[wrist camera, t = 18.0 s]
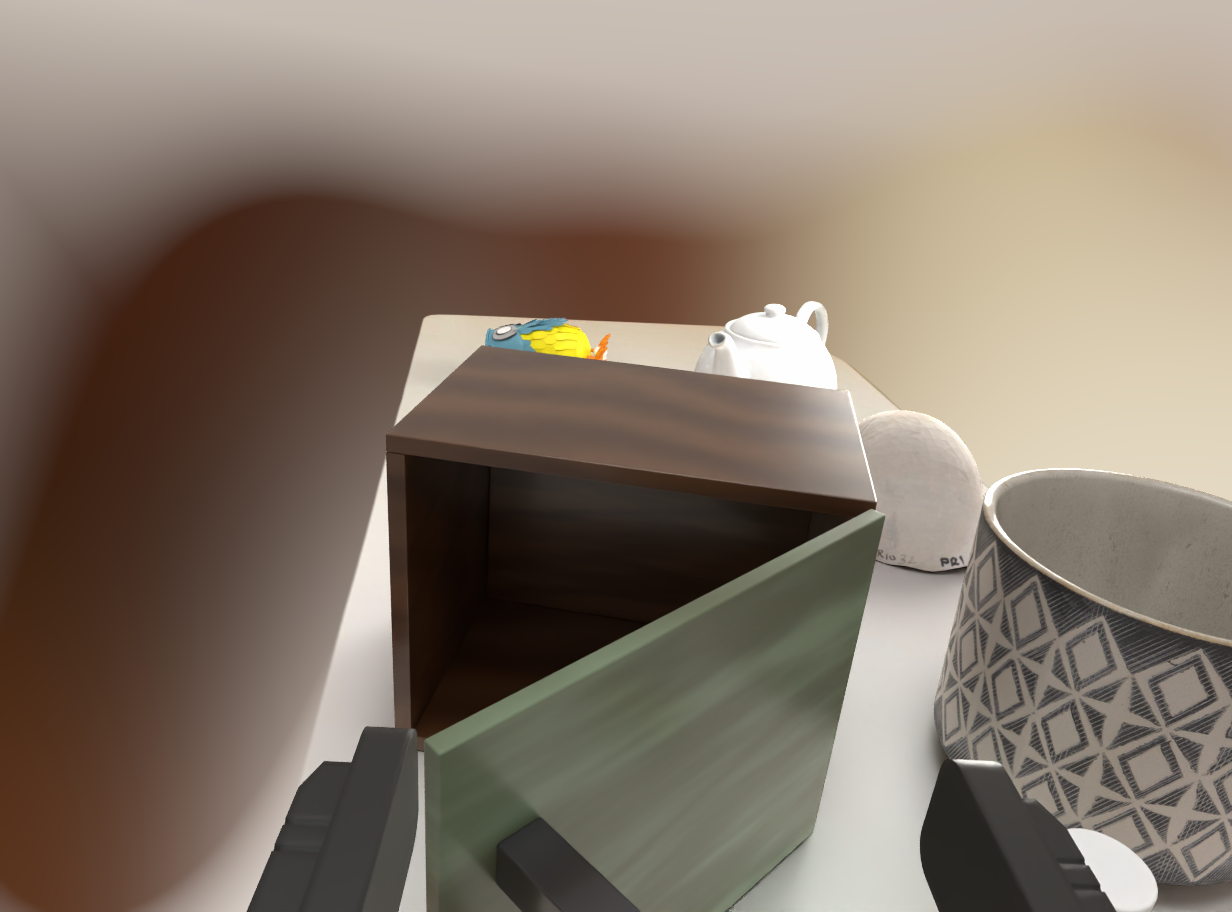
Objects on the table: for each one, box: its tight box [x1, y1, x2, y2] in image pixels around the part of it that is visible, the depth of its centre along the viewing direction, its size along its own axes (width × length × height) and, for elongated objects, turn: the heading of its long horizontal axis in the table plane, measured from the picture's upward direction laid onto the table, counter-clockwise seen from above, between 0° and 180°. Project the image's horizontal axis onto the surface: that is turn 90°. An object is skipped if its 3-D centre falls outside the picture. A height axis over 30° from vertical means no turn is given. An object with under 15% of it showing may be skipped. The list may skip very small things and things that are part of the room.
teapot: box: [695, 301, 837, 389], centre depth 105 cm, size 19×18×14 cm
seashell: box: [857, 411, 984, 571], centre depth 81 cm, size 15×14×15 cm
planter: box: [934, 469, 1232, 886], centre depth 50 cm, size 19×19×16 cm
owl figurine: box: [485, 318, 610, 361], centre depth 109 cm, size 28×9×15 cm
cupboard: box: [386, 345, 877, 751], centre depth 53 cm, size 16×24×20 cm, turn 81°
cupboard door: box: [424, 509, 886, 912], centre depth 34 cm, size 7×24×20 cm, turn 134°
